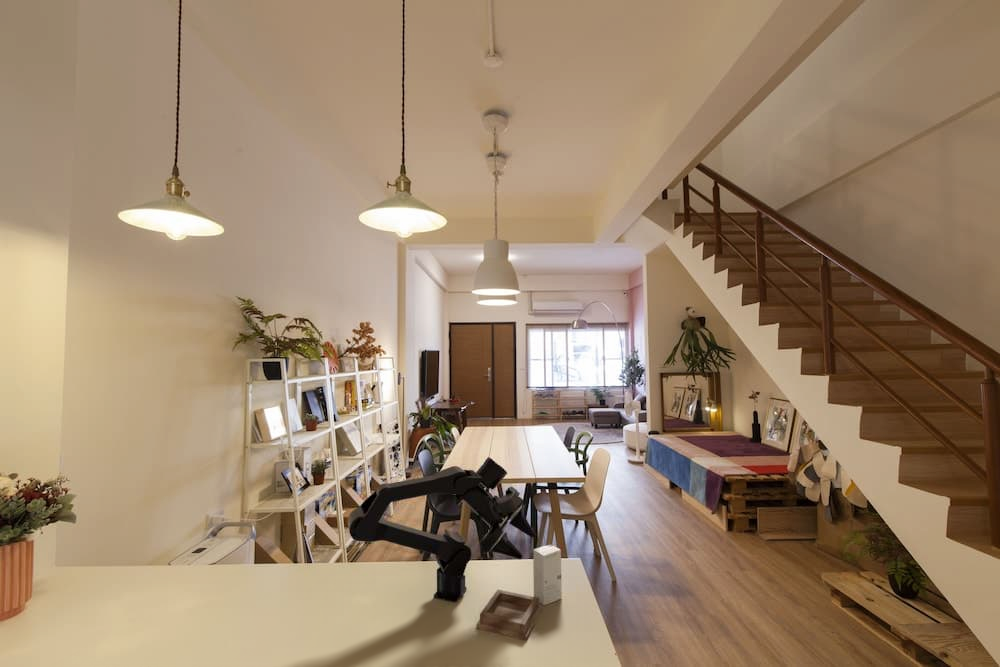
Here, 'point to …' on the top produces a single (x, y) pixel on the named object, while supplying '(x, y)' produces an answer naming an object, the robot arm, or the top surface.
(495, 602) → the walnut holder
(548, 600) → the skincare box
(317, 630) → the top surface
